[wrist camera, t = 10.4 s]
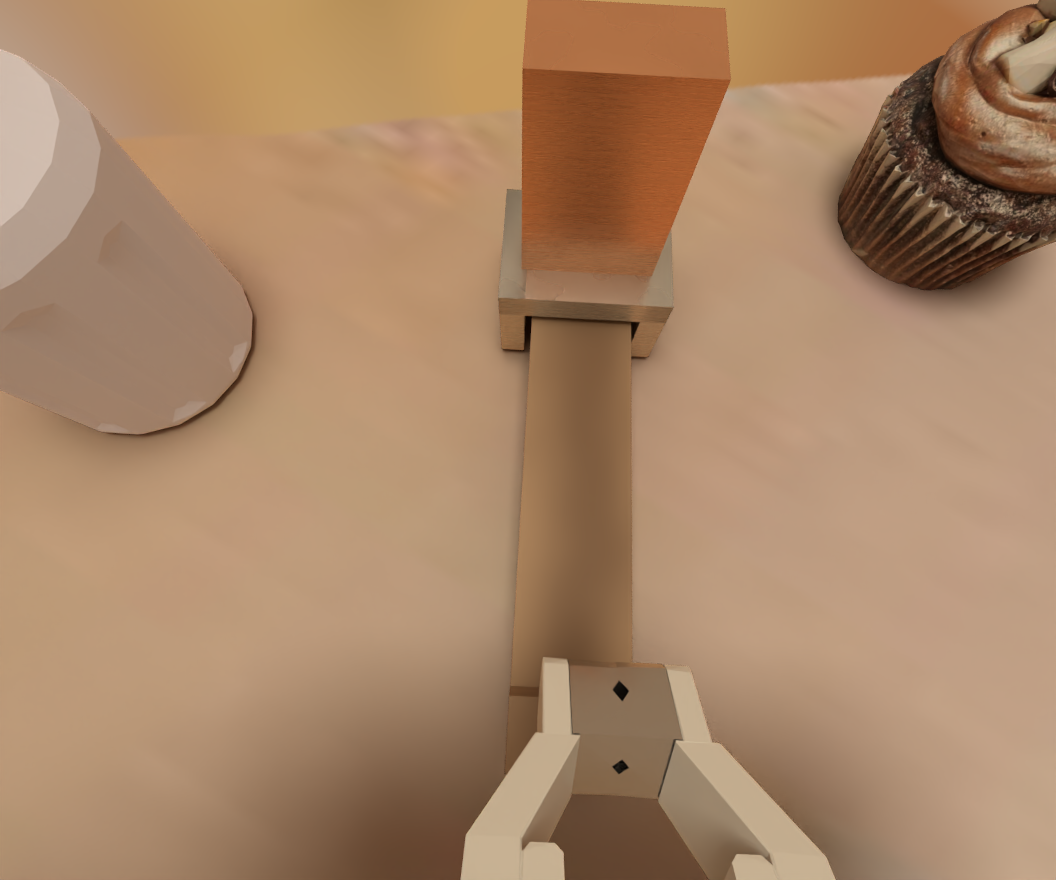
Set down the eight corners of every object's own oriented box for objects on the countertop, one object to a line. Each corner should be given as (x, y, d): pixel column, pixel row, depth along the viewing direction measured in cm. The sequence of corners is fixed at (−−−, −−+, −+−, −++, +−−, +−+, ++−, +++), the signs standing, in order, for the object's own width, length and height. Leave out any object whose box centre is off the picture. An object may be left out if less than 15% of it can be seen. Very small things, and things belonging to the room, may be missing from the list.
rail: (508, 733, 20) (504, 773, 15) (538, 220, 27) (542, 136, 22) (616, 739, 20) (646, 781, 15) (618, 225, 27) (640, 141, 22)
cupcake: (851, 122, 29) (1016, -119, 19) (1031, 191, 28) (1303, -29, 18) (793, 256, 26) (951, 55, 17) (990, 338, 25) (1280, 174, 15)
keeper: (501, 348, 24) (485, 107, 12) (508, 254, 26) (499, -40, 14) (647, 357, 24) (768, 123, 12) (646, 262, 26) (753, -26, 14)
